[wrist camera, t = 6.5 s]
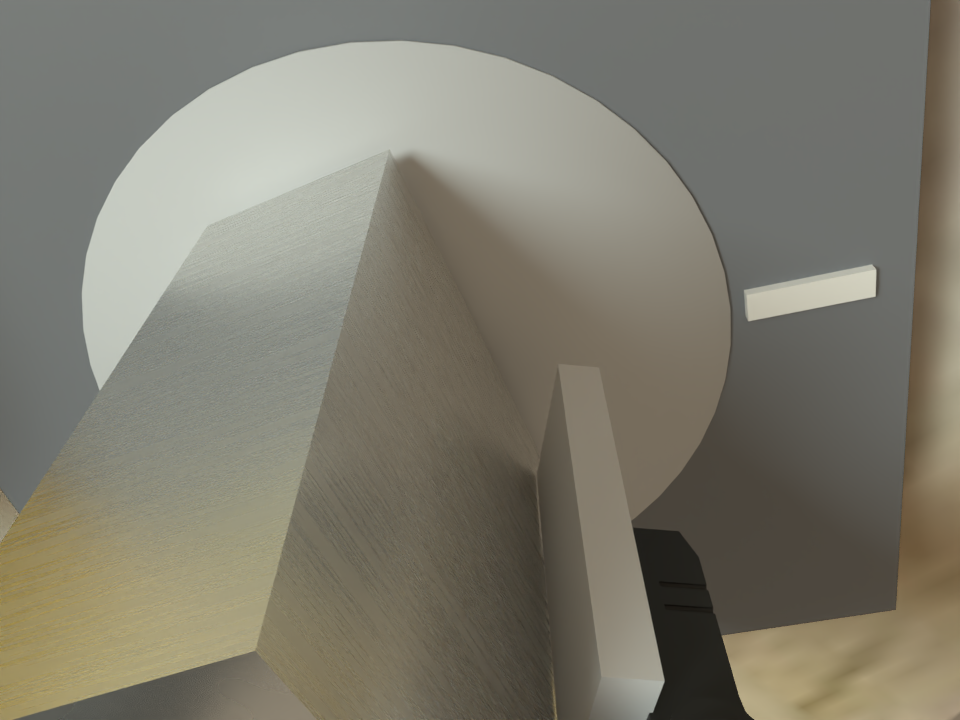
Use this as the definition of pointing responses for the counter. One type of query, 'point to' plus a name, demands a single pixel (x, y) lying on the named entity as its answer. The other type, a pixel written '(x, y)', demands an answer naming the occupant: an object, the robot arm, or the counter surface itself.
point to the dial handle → (290, 493)
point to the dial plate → (525, 229)
